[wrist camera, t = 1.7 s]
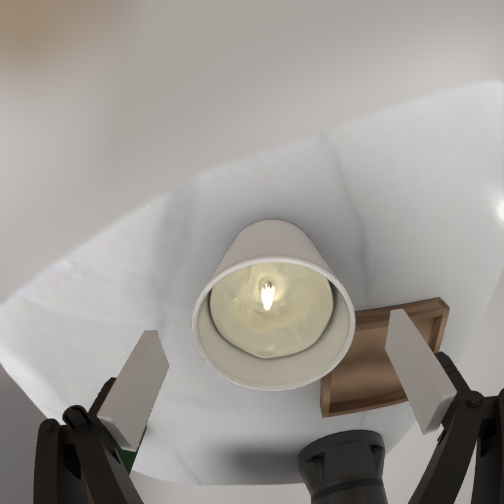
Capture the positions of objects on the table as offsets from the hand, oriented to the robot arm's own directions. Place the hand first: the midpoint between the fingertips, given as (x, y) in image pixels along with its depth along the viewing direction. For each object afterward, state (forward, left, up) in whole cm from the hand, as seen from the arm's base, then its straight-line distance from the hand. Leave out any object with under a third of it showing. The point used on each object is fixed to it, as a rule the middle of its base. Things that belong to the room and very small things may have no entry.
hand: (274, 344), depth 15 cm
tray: (-14, -12, -13) cm, 23 cm away
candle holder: (0, 0, -13) cm, 13 cm away
